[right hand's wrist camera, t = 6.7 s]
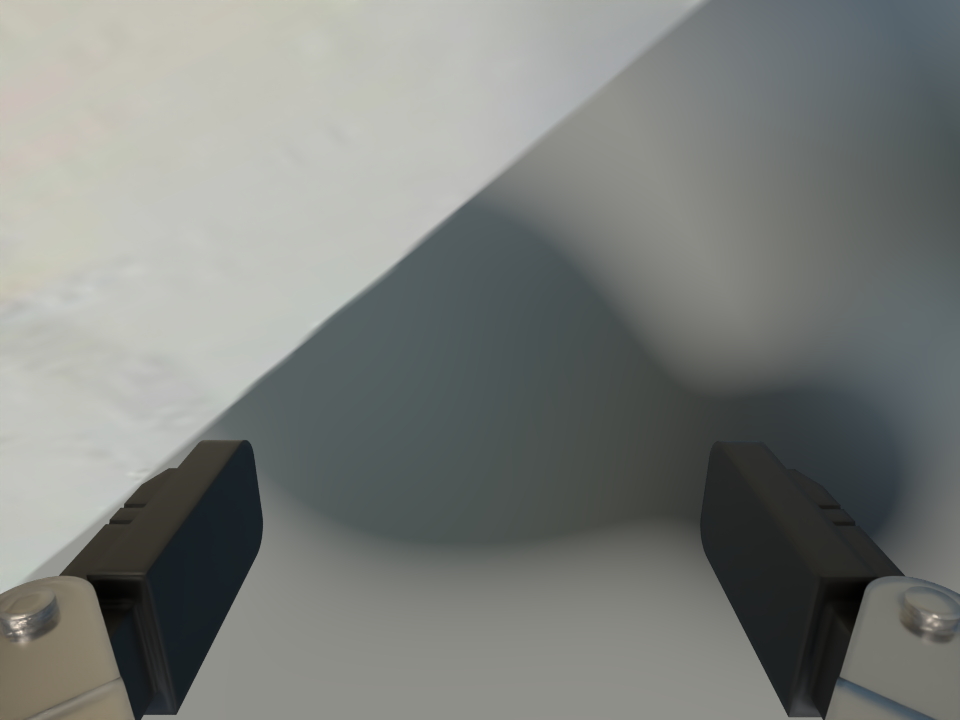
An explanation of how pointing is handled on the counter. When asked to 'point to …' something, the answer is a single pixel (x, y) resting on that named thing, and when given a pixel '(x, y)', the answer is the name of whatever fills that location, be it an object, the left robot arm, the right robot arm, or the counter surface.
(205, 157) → the counter surface
